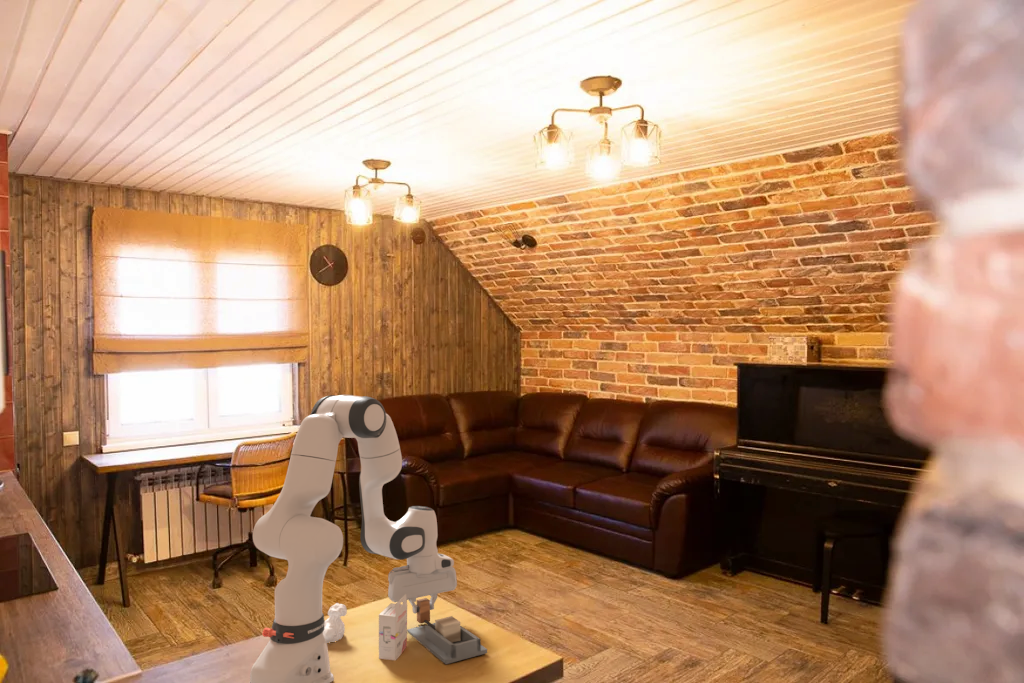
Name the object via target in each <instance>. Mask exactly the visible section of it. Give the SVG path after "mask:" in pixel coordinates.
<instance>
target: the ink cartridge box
mask: <svg viewBox="0 0 1024 683" xmlns="http://www.w3.org/2000/svg"><path fill="white" fill-rule="evenodd" d="M407 629H408V600H407V597H406V594H405V595H404V596H403V597H402V598H401V599H400V600H399V601H398V602H395V603H394V602H392V603H389V605H388V606H386V608H384V609H383V610H382V611H381V612H380V613H379V614H378V659H382V660H390V661H397V660H398V659H399V657H400V656H401V655H402V654H403V652H404V651H405V649H406V648H407V646H408V645H407V644H408V643H407V642H408V640H407V639H408V636H407V635H408V632H407Z"/></svg>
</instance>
